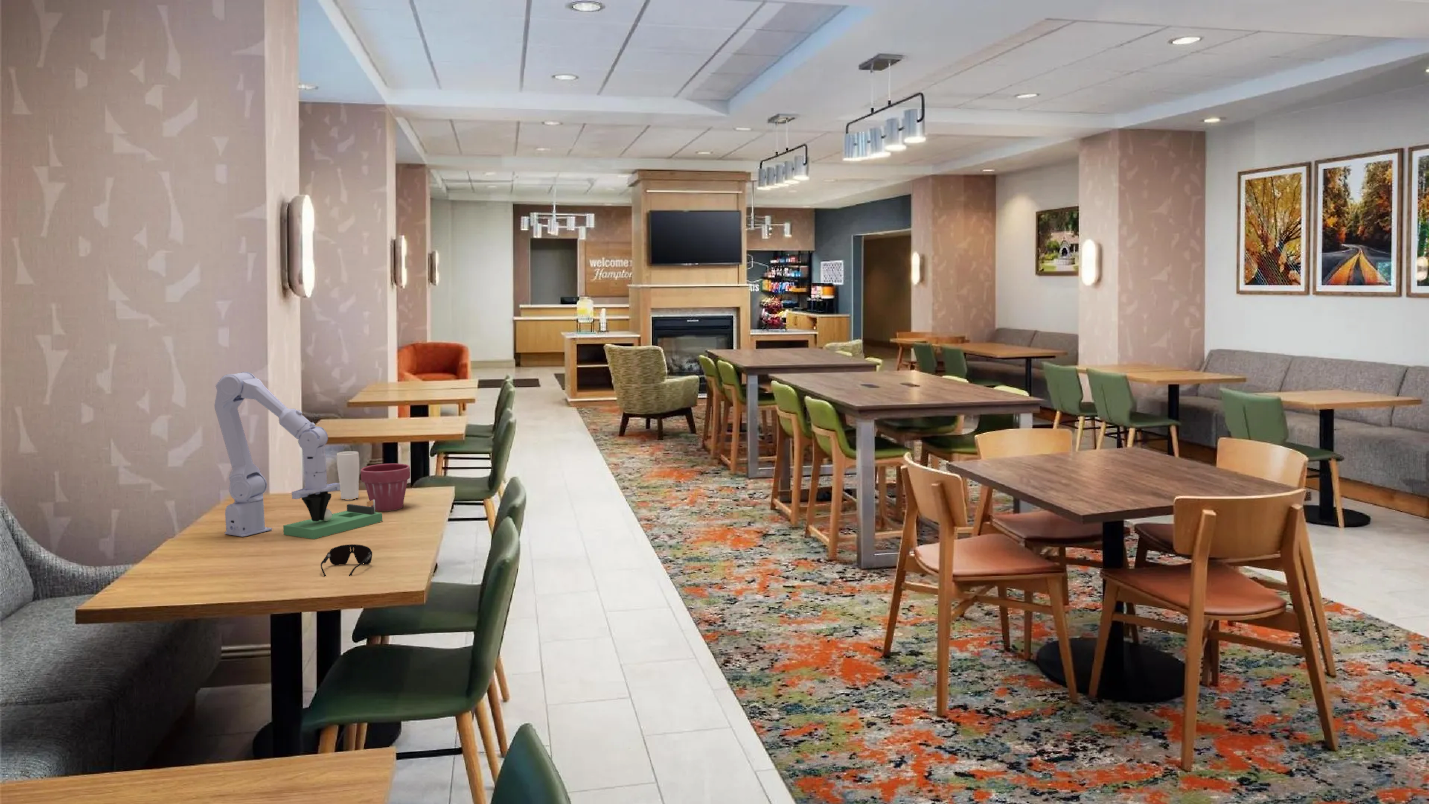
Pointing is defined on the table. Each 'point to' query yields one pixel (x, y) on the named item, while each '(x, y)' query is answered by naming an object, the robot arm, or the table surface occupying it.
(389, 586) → the table surface
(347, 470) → the drinking glass
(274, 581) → the table surface
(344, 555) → the sunglasses
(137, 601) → the table surface
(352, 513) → the green board
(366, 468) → the plant pot
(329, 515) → the ball
